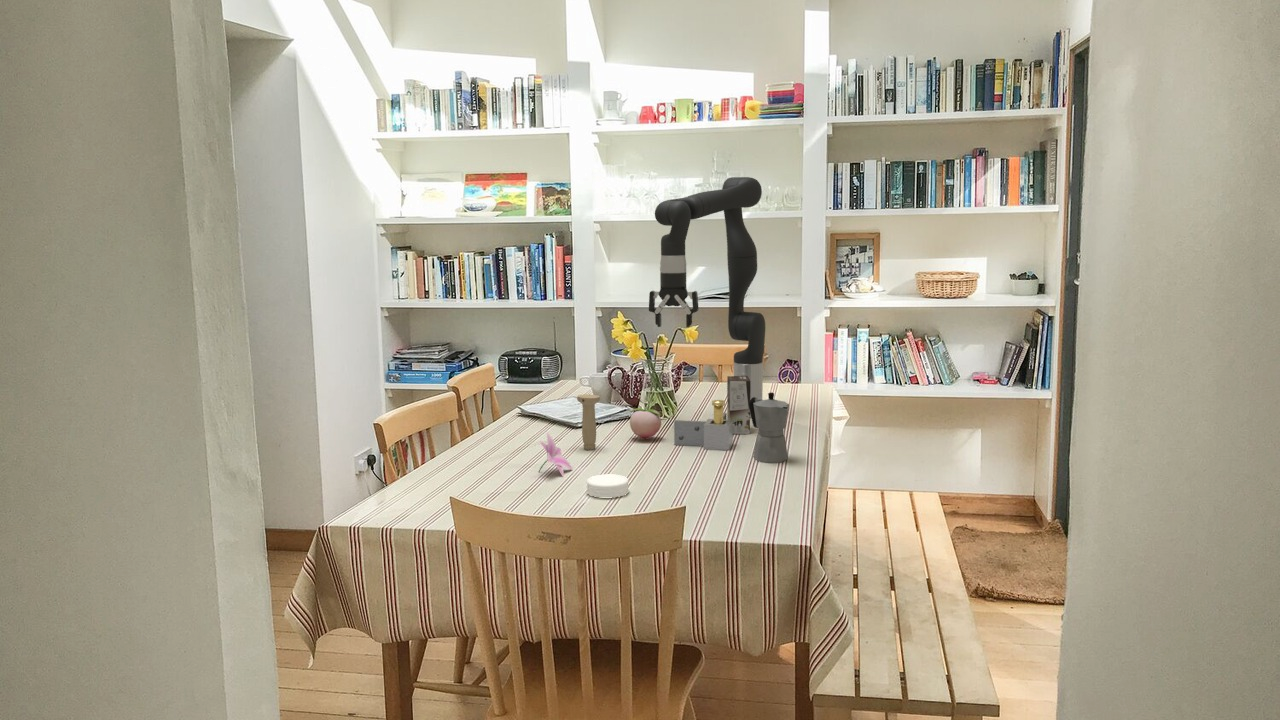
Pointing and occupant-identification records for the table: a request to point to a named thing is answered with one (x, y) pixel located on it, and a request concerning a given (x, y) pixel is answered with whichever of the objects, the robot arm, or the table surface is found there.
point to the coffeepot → (769, 428)
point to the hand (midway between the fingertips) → (673, 326)
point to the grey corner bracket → (704, 433)
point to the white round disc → (607, 485)
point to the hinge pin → (718, 411)
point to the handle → (588, 419)
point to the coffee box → (739, 403)
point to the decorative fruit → (645, 422)
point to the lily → (554, 455)
